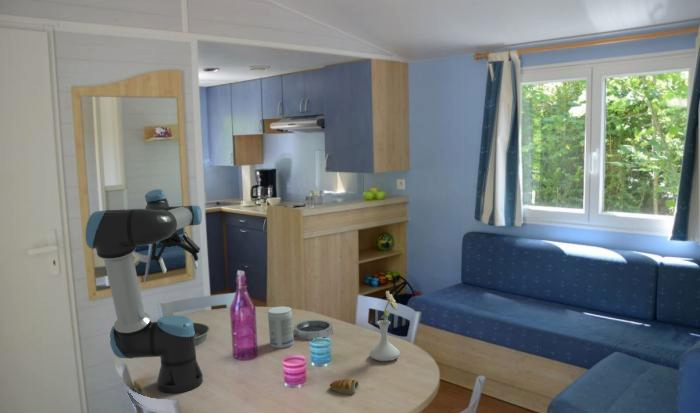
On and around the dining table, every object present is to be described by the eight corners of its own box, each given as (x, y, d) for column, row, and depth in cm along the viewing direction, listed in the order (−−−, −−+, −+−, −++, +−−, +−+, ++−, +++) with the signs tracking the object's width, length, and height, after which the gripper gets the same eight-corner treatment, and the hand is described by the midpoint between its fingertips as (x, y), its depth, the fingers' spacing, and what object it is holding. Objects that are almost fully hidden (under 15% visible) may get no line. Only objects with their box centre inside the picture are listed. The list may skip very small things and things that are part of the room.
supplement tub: (294, 340, 237) (292, 305, 235) (293, 348, 227) (291, 312, 226) (271, 341, 237) (269, 306, 235) (268, 349, 227) (266, 313, 225)
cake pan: (201, 351, 228) (200, 341, 227) (140, 353, 229) (139, 342, 228) (216, 331, 252) (216, 321, 252) (161, 332, 253) (160, 322, 252)
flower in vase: (390, 366, 206) (388, 298, 203) (363, 360, 212) (361, 295, 209) (407, 354, 217) (405, 289, 214) (381, 348, 223) (379, 286, 220)
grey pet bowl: (339, 333, 242) (339, 326, 242) (305, 342, 233) (305, 335, 233) (320, 324, 256) (320, 317, 255) (287, 331, 247) (287, 325, 247)
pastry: (327, 393, 187) (327, 382, 186) (333, 384, 193) (333, 373, 193) (355, 395, 184) (354, 384, 184) (360, 387, 191) (360, 376, 190)
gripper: (197, 216, 233) (211, 259, 243) (137, 226, 234) (154, 269, 244) (194, 225, 227) (208, 269, 236) (132, 235, 227) (149, 279, 237)
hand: (180, 269), depth 240 cm, fingers open, 13 cm apart
